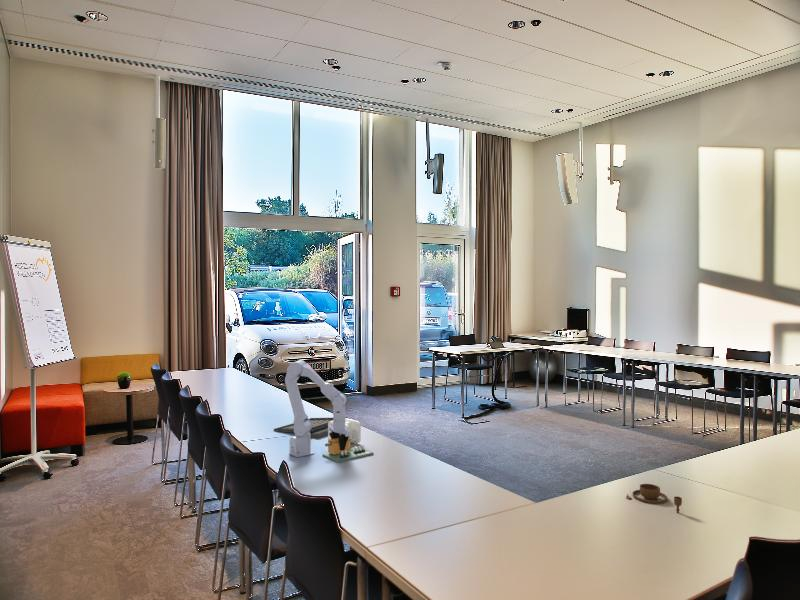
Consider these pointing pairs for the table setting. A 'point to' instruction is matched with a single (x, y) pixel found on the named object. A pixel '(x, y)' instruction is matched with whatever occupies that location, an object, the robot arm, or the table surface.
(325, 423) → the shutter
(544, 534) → the table surface
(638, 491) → the place setting
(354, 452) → the led bulb strip
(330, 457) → the board
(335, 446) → the block
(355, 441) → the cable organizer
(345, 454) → the twin bulb fixture
